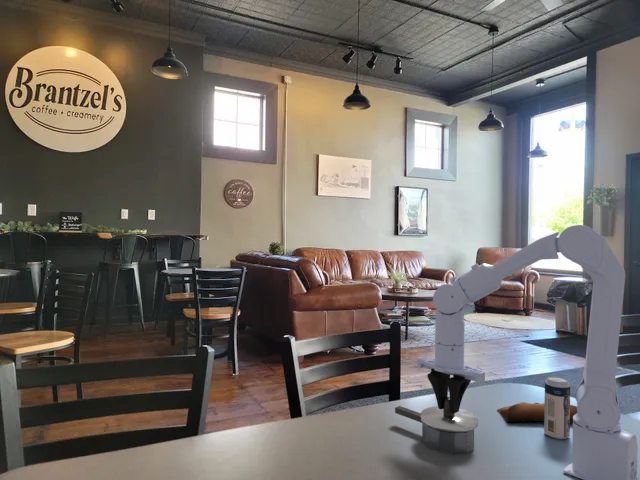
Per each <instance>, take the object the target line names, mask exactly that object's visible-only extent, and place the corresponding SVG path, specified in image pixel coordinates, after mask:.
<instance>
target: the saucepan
mask: <svg viewBox="0 0 640 480" xmlns="http://www.w3.org/2000/svg"><path fill="white" fill-rule="evenodd" d="M394 413H395V414H397V415H400V416H402V417H405V418H408V419H410V420H413V421H416V422H419V423H421V424H422V428H421V431H422V432H421V433H422V434H421V442H422V443H423V445H425V446H426V447H427V448H428V449H431V450H433V451H436V452H439V453H442V454H447V455H463V454H468V453H470V452H471V451H474V450H475V429H474V430H471V431H468V432H445V431H440V430H437V429H433V428H431V427H429V426H427V425H425V424H424V423H423V422H422V421H421V412H418V411H416V410H413V409H409V408H407V407H405V406H401V405H398V406H395V407H394Z"/></svg>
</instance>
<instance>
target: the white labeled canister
mask: <svg viewBox="0 0 640 480" xmlns="http://www.w3.org/2000/svg"><path fill="white" fill-rule="evenodd" d="M544 403H545V404H544V421H543V423H544V424H543V425H544V426H543V431H544V434H546V435H547V436H548V437H550V438H551V439H552V438H553V439H556V440H566V439H569V437H571V436H570V432H571V431H570V429H571V428H570V427H571V426H570V425H571V424H570V423H571V422H570V405H571V384H570V382H569V380H568V379H566V378H564V377H560V376H548V377H547V378H546V379H545V381H544Z"/></svg>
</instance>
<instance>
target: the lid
mask: <svg viewBox="0 0 640 480" xmlns="http://www.w3.org/2000/svg"><path fill="white" fill-rule="evenodd" d="M420 413H421V421H422V422H423V423H424V424H425V425H427V426H429V427H431V428H433V429H437V430H440V431H445V432H468V431H471V430H474V431H475V430H476V429H477V427H478V426H479V418H478V416H477V415H476V414H475V413H473V412H472V411H470V410H467V409H464V408H461V407H460V408H459V412H456V413H454V414H453V413H450V396H448V397H444V398H443V409H439V408H438V405H435V406H430V407H427V408H424V409H422V410H421V412H420Z"/></svg>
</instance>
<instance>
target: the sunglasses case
mask: <svg viewBox="0 0 640 480" xmlns="http://www.w3.org/2000/svg"><path fill="white" fill-rule="evenodd" d="M544 404H545V402H544V403H539V402H534V403H533V402H532V403H530V402H524V401H523V402H519V403H515V404H512V405H509V406H504V407H501V408H498V409H496V413H498V414H499V415H500V416H501V417H502V418H503V420H505V421H506V423H520V422H522V423H523V422H525V423H526V422H537V421H539V422H544ZM576 413H577V405H573V404H570V423H573V416H574V415H575V414H576Z"/></svg>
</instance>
